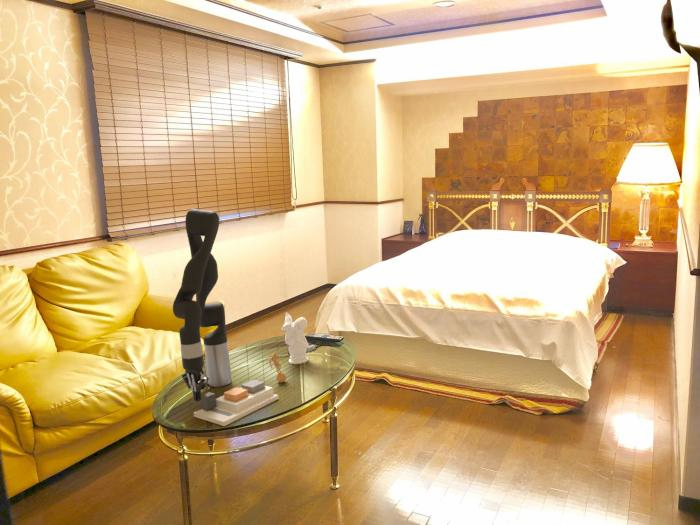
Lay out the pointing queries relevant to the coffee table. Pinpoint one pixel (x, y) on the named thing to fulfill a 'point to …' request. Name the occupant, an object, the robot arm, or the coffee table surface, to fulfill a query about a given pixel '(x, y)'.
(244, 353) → the coffee table surface
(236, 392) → the orange button
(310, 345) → the walkie-talkie
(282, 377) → the figurine
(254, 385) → the grey button
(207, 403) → the dark grey block
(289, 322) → the cherub figurine
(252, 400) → the control panel
